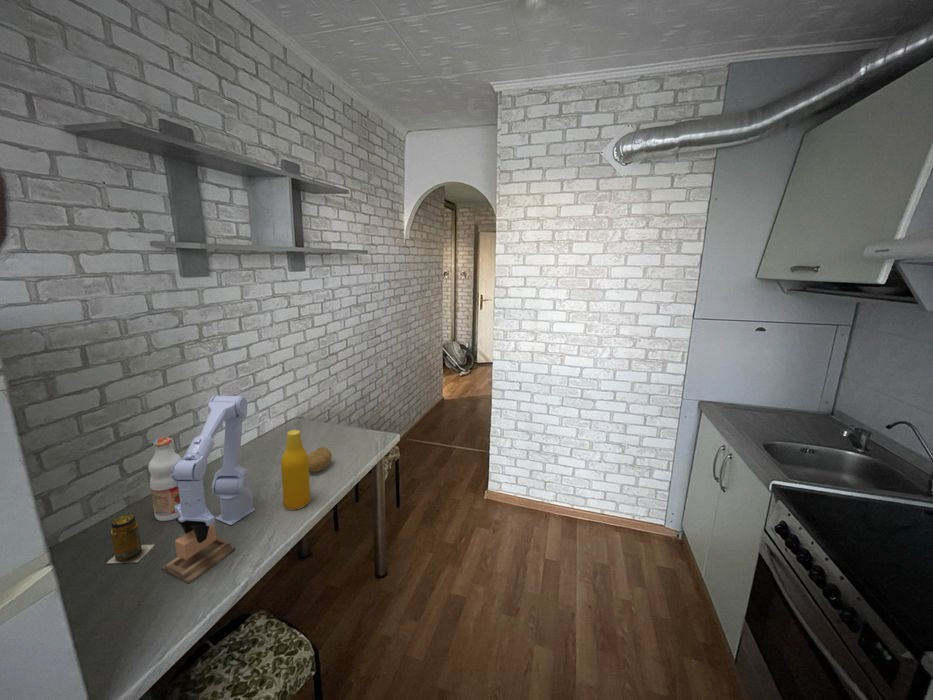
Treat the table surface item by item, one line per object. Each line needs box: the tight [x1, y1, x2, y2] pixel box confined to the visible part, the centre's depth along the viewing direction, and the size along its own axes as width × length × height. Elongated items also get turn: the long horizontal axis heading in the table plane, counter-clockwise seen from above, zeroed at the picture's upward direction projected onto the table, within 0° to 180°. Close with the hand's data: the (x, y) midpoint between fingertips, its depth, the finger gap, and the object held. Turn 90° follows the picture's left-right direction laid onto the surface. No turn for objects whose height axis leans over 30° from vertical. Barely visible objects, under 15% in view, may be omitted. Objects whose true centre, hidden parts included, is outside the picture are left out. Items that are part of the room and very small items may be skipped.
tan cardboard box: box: [174, 524, 217, 560], centre depth 112 cm, size 9×4×5 cm, turn 159°
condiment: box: [106, 514, 155, 564], centre depth 113 cm, size 7×8×12 cm
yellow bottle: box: [280, 429, 311, 510], centre depth 139 cm, size 9×9×29 cm
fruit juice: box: [147, 437, 183, 522], centre depth 130 cm, size 9×9×28 cm
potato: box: [307, 446, 333, 473], centre depth 165 cm, size 10×14×8 cm
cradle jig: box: [160, 535, 236, 585], centre depth 114 cm, size 14×12×2 cm
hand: (197, 538), depth 112 cm, fingers closed on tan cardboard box, 4 cm apart
